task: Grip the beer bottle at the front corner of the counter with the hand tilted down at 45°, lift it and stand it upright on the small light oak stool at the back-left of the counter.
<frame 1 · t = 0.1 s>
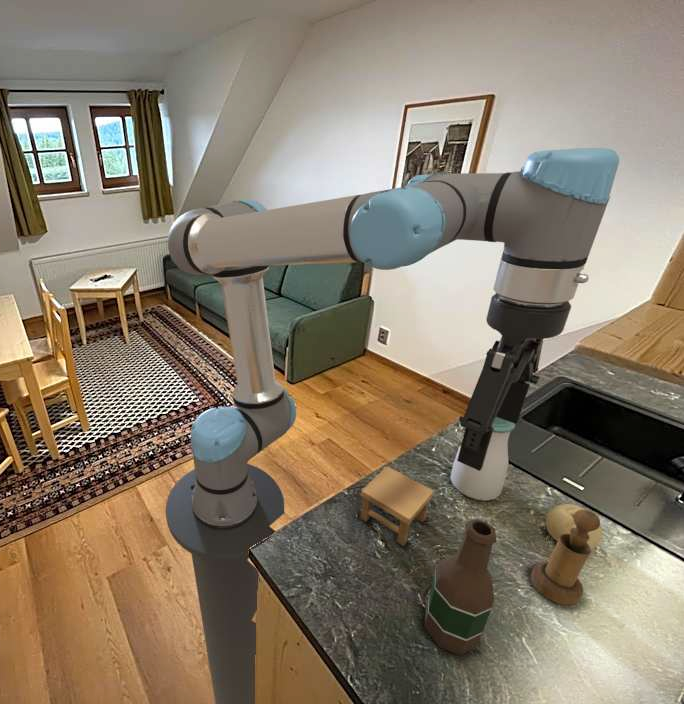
hand: (489, 440, 56), 33 cm above the counter, tool pointing down, fingers open, 13 cm apart
mortar and pestle: (553, 587, 69), on the counter
stool: (392, 518, 84), on the counter
beer bottle: (448, 630, 65), on the counter
soap bottle: (474, 486, 90), on the counter
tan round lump: (566, 539, 77), on the counter
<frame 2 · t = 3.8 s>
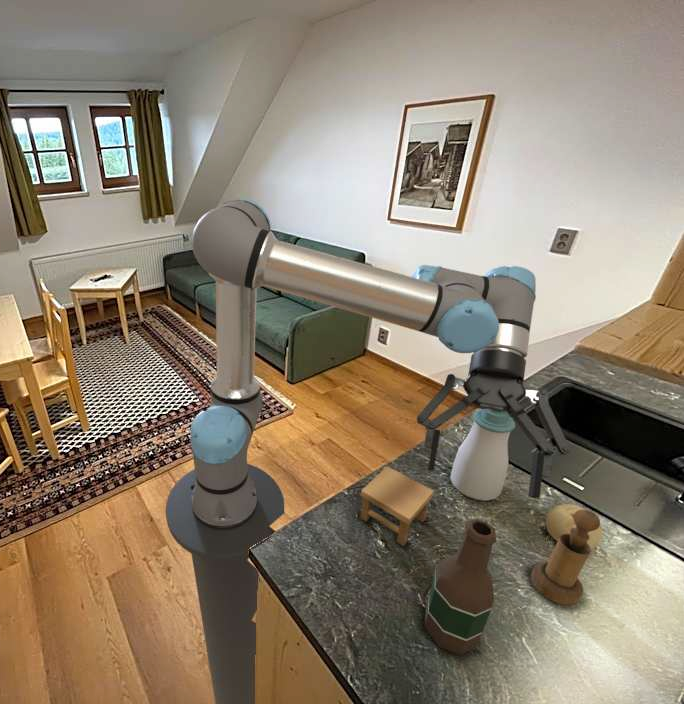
hand: (479, 483, 62), 23 cm above the counter, tool tilted 45°, fingers open, 13 cm apart
nothing on the counter moved.
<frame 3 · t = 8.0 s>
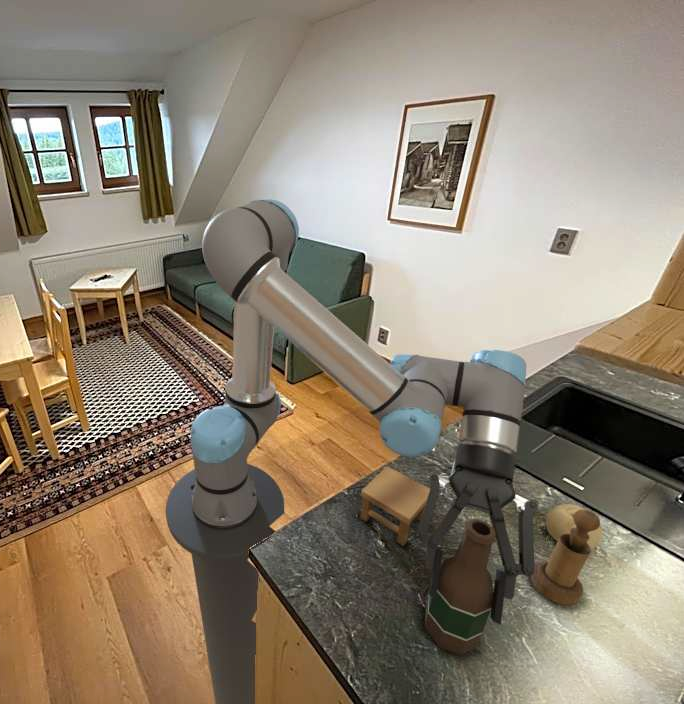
hand: (462, 607, 57), 12 cm above the counter, tool tilted 45°, fingers closed on beer bottle, 7 cm apart
beer bottle: (448, 631, 65), on the counter, touching gripper
everything else where it was.
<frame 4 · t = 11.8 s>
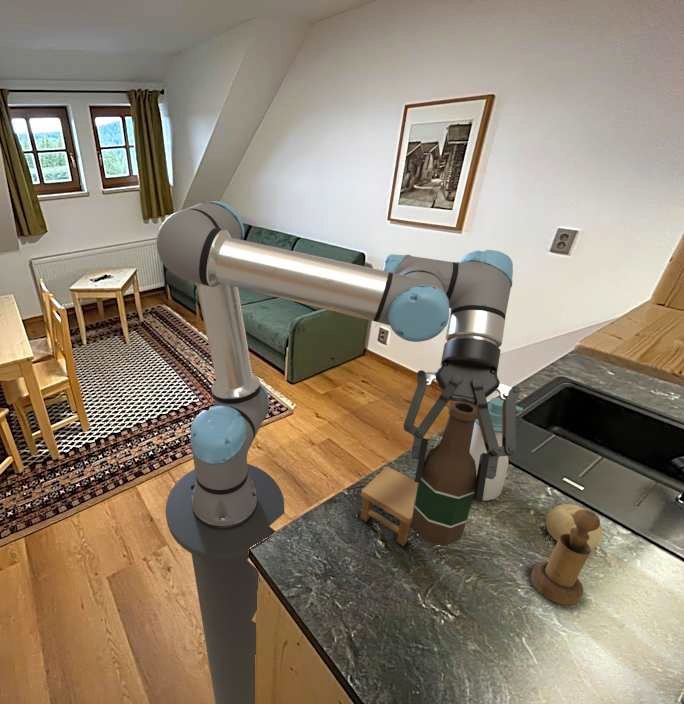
hand: (446, 490, 58), 25 cm above the counter, tool tilted 45°, fingers closed on beer bottle, 7 cm apart
beer bottle: (434, 527, 66), point 14 cm above the counter, touching gripper
everything else where it was.
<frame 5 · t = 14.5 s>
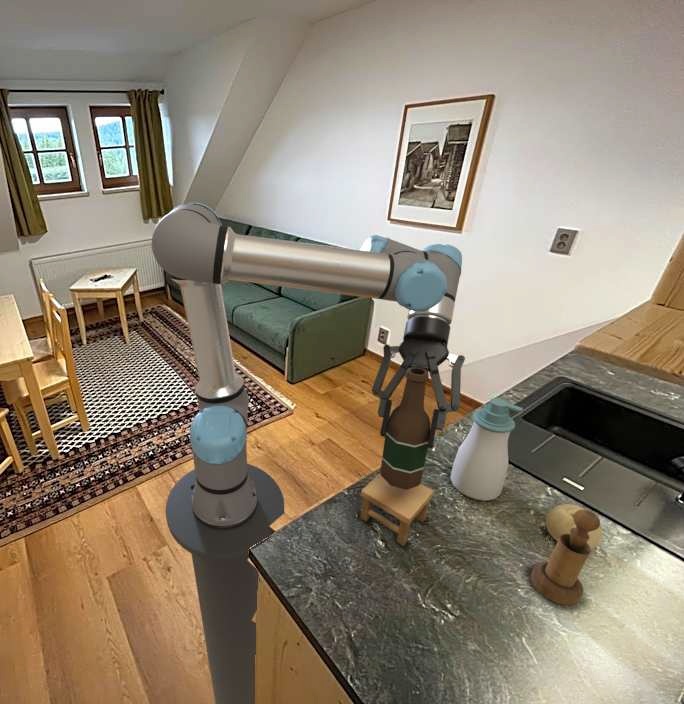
hand: (405, 440, 71), 23 cm above the counter, tool tilted 45°, fingers closed on beer bottle, 7 cm apart
beer bottle: (400, 476, 79), point 12 cm above the counter, touching gripper
everything else where it was.
when the fingers open (20 cm above the counter, at t = 16.1 s): beer bottle stays where it is, resting on stool.
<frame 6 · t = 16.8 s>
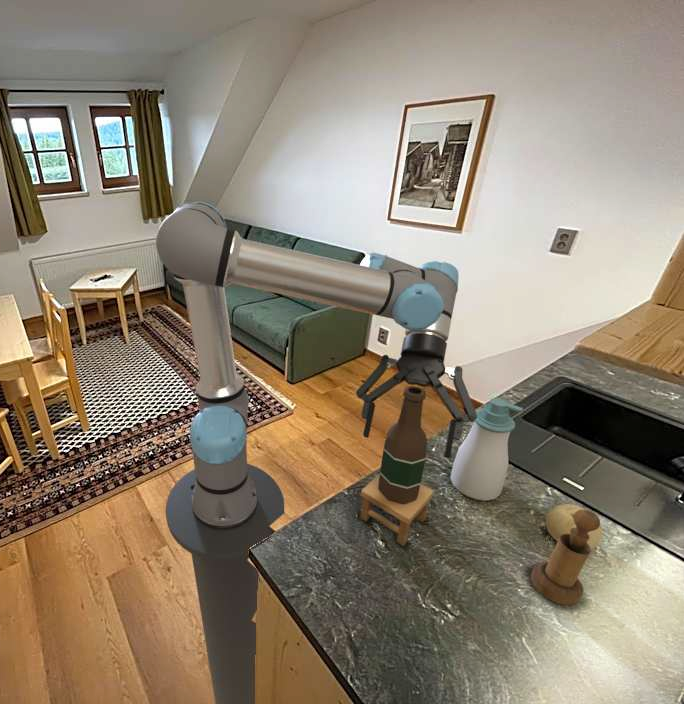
hand: (404, 446, 73), 21 cm above the counter, tool tilted 45°, fingers open, 13 cm apart
beer bottle: (397, 491, 81), point 8 cm above the counter, touching stool
everything else where it was.
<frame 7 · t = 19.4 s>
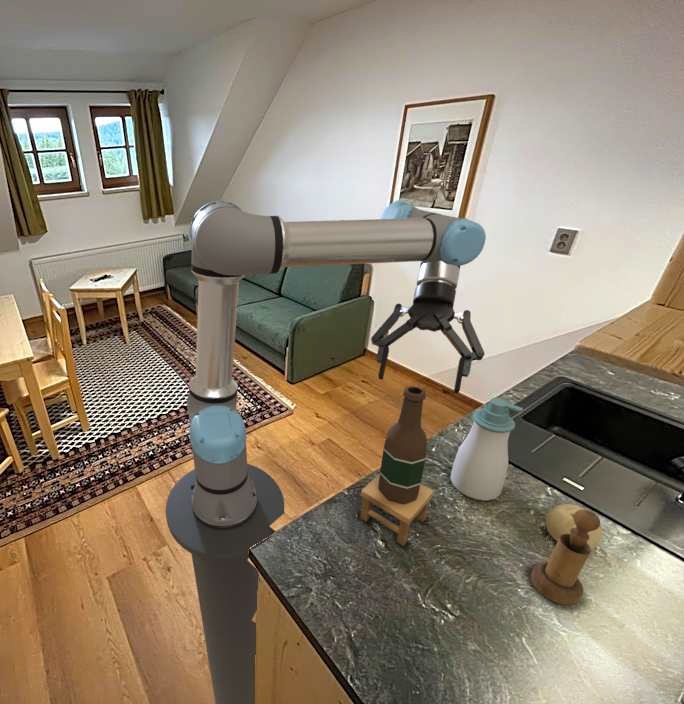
hand: (417, 384, 79), 28 cm above the counter, tool tilted 45°, fingers open, 13 cm apart
nothing on the counter moved.
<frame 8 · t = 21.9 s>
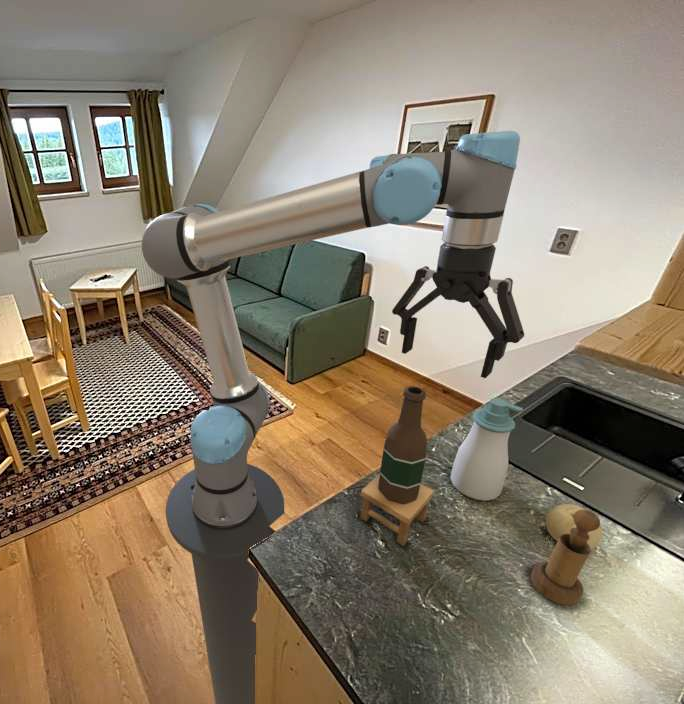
hand: (443, 362, 72), 35 cm above the counter, tool pointing down, fingers open, 13 cm apart
nothing on the counter moved.
at the end: beer bottle inside the target area on the stool (0.1 cm from its centre), point 7.8 cm above the stool's base; beer bottle tilted 0°; the gripper is holding nothing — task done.
